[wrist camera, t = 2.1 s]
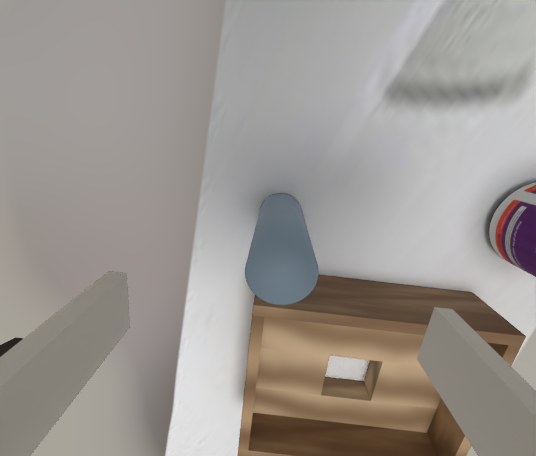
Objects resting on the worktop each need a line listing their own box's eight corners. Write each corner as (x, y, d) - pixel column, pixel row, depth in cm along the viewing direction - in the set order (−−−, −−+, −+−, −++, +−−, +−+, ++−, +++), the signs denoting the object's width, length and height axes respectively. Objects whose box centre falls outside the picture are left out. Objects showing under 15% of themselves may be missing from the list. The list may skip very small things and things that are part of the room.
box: (259, 268, 28) (253, 305, 22) (472, 292, 28) (526, 336, 22) (245, 398, 34) (237, 455, 28) (422, 418, 34) (453, 481, 28)
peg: (262, 190, 26) (248, 235, 15) (304, 195, 26) (323, 244, 14) (258, 230, 27) (242, 300, 16) (298, 235, 27) (312, 308, 16)
